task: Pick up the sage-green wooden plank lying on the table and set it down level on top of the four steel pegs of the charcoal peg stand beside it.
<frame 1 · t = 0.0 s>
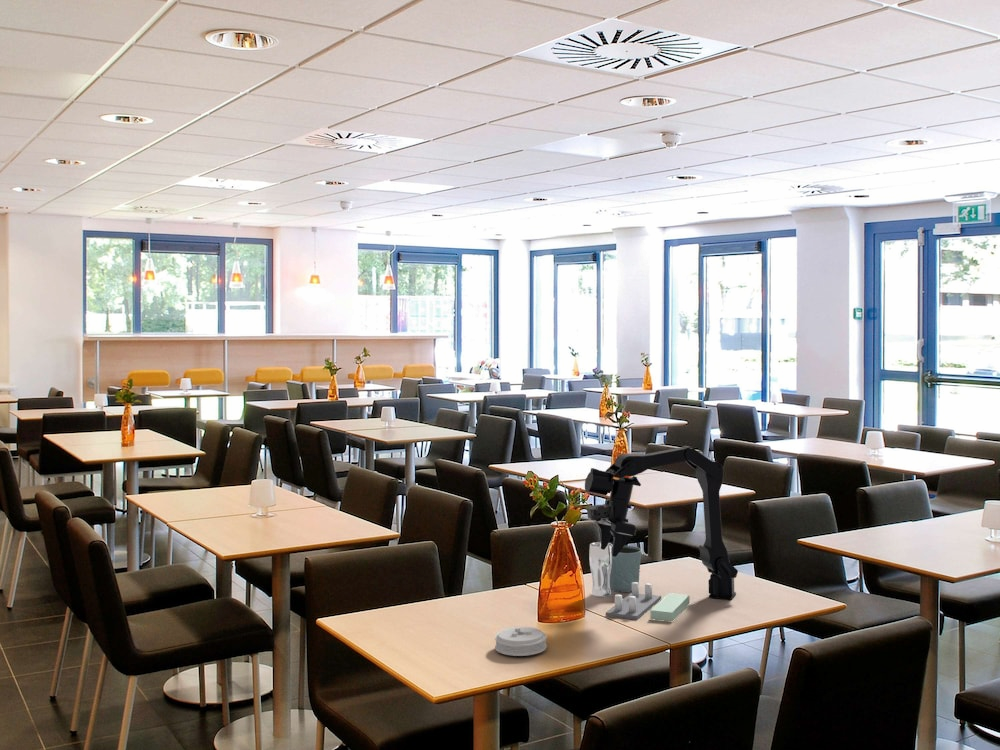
hand: (608, 552, 260), 15 cm above the table, tool pointing down, fingers open, 9 cm apart
peg stand: (634, 607, 259), on the table
teal cylinder: (625, 589, 280), on the table
plank: (670, 613, 255), on the table
lid: (520, 651, 227), on the table
beer glass: (602, 595, 273), on the table
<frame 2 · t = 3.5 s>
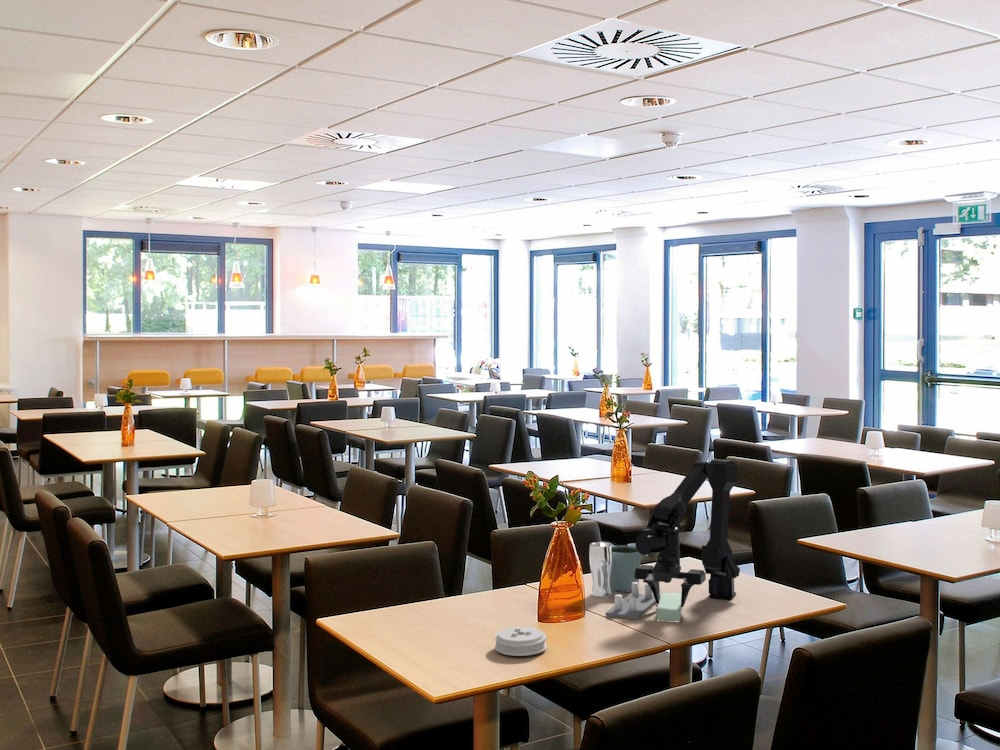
hand: (670, 605, 255), 2 cm above the table, tool pointing down, fingers closed on plank, 6 cm apart
plank: (670, 612, 255), on the table, touching gripper
everything else where it was.
when the fingers open (8 cm above the table, at t = 6.8 s): plank stays where it is, resting on peg stand.
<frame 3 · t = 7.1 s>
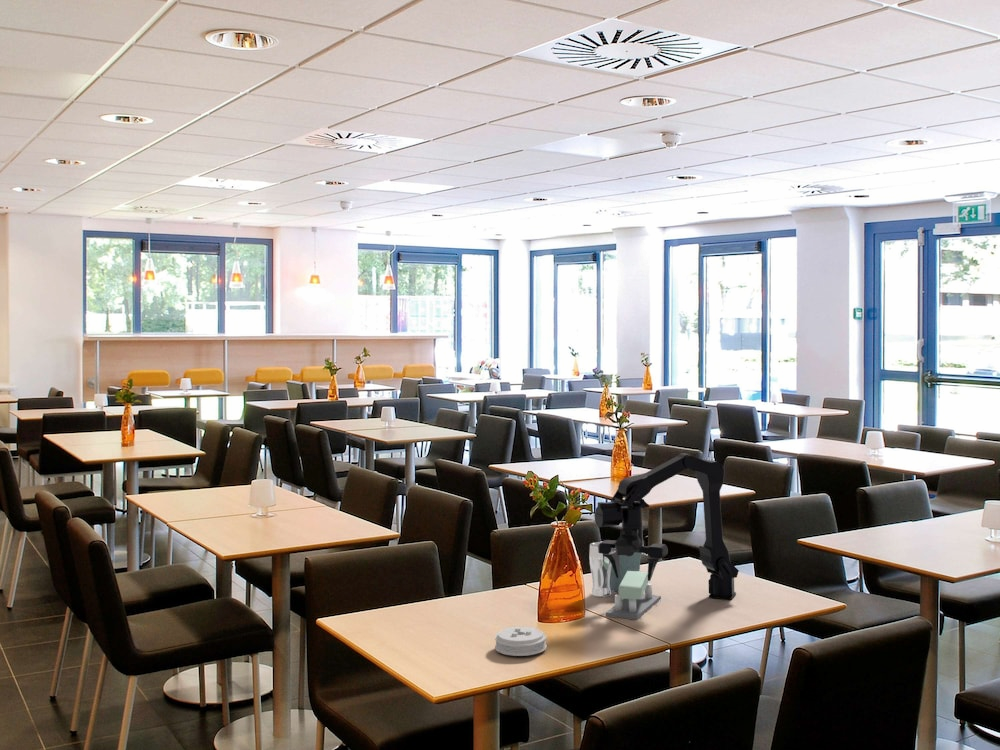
hand: (633, 579, 259), 8 cm above the table, tool pointing down, fingers open, 9 cm apart
plank: (634, 589, 259), point 5 cm above the table, touching peg stand
everything else where it was.
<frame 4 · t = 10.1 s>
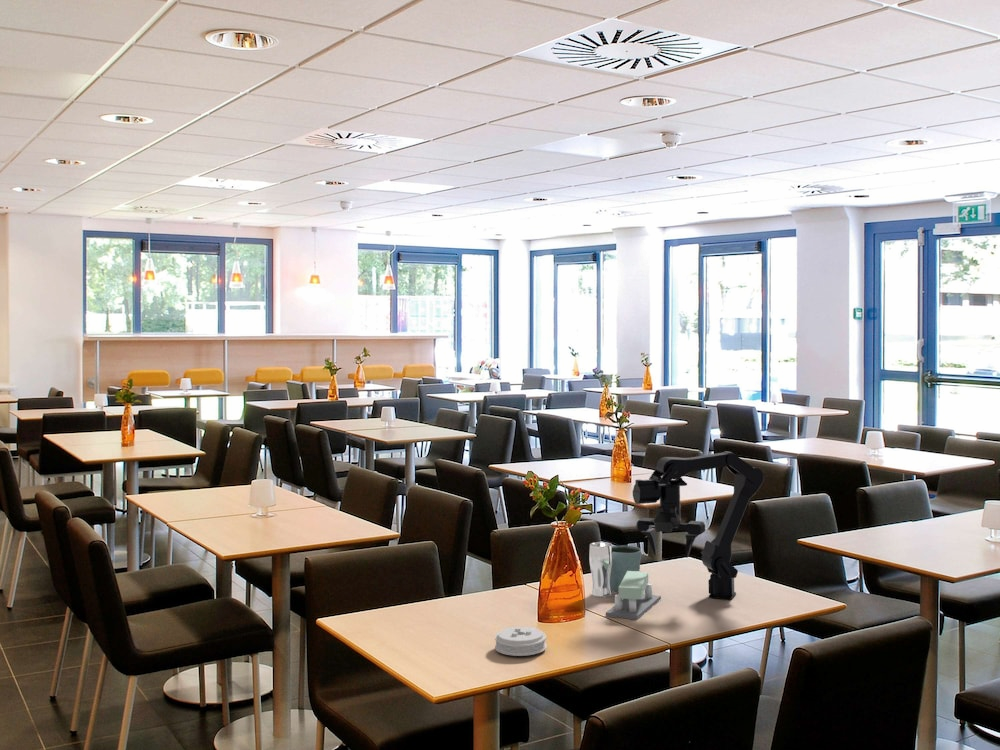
hand: (671, 555, 264), 13 cm above the table, tool pointing down, fingers open, 9 cm apart
nothing on the table moved.
at the end: plank 0.1 cm off-centre on the peg stand, point 5.0 cm above the peg stand's base; plank tilted 0°; plank touching peg stand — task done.
